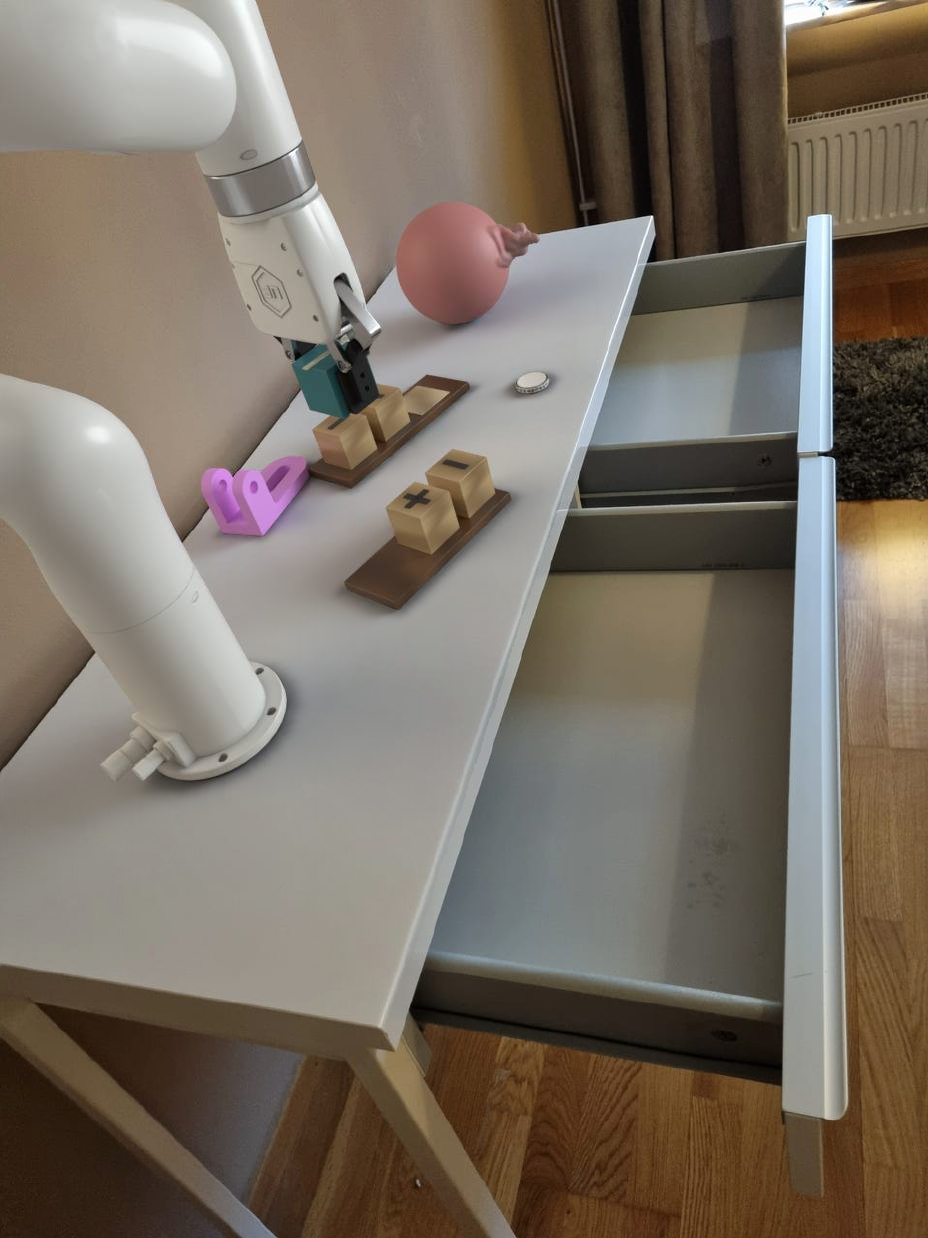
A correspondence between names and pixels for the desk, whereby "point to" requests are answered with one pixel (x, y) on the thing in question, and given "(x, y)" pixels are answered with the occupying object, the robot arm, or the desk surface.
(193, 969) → the desk surface
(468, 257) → the balloon
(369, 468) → the far word
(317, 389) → the striped teal cube
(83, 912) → the desk surface
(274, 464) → the bracket
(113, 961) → the desk surface
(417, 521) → the wooden board with cubes
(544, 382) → the white flat disc
